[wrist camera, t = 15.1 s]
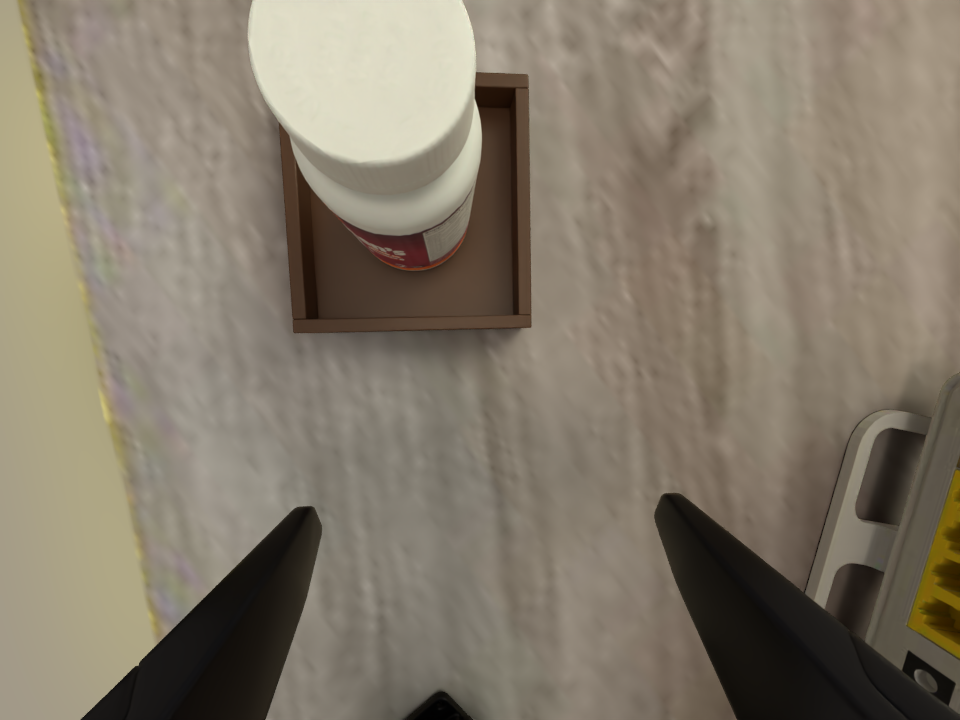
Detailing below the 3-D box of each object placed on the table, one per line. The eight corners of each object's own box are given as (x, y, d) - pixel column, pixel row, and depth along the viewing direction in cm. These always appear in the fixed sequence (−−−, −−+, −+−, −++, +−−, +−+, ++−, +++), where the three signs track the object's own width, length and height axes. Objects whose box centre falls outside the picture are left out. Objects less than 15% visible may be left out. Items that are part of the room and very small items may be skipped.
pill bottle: (334, 227, 19) (157, 65, 7) (400, 135, 18) (322, -172, 7) (427, 295, 19) (395, 243, 8) (490, 207, 19) (548, 29, 8)
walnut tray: (523, 328, 21) (531, 327, 18) (310, 333, 19) (293, 333, 17) (519, 102, 19) (528, 73, 17) (294, 95, 18) (274, 62, 16)
